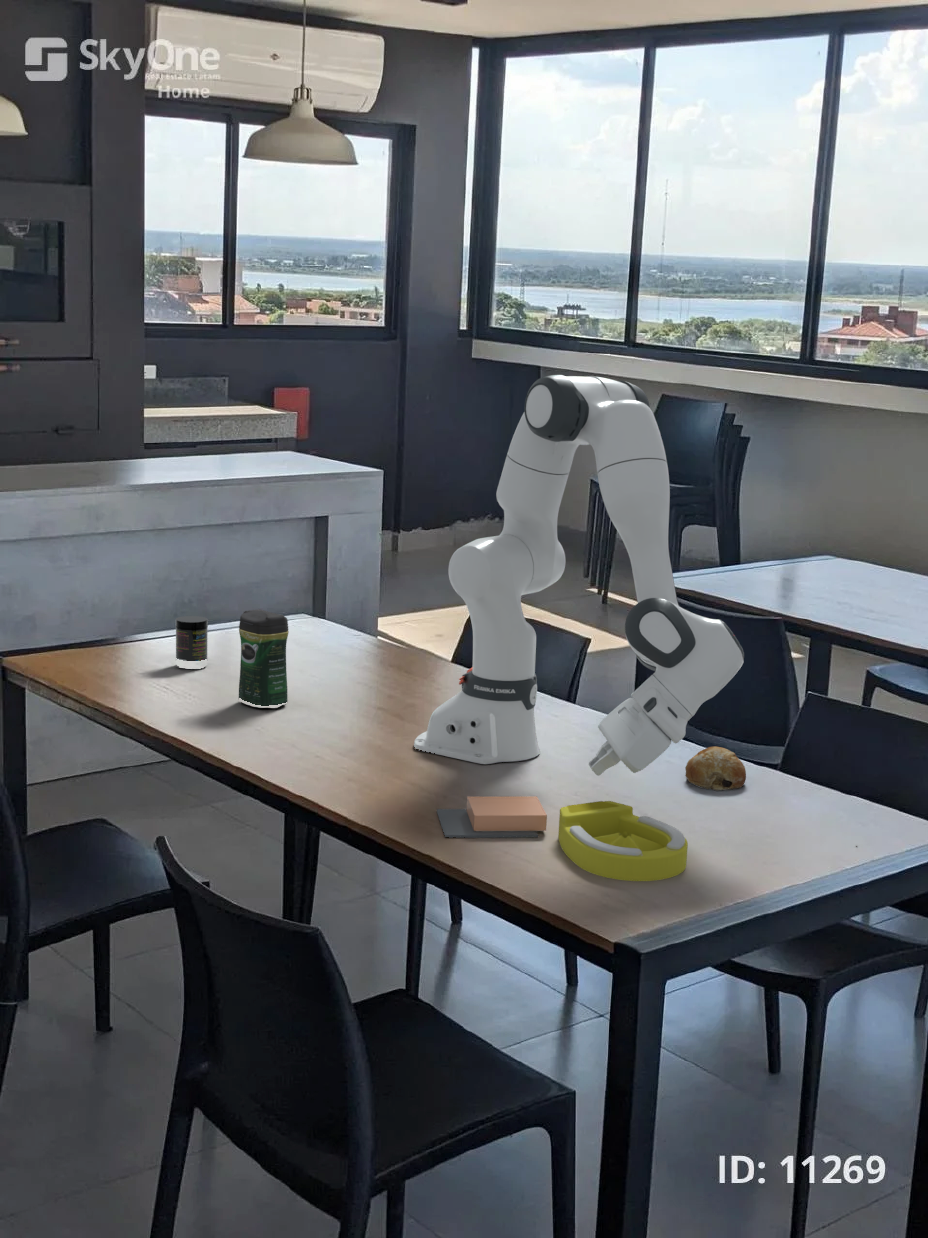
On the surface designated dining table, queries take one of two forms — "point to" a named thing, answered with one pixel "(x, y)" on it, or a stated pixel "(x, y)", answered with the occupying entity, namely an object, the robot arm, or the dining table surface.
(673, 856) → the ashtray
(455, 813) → the rubber mat
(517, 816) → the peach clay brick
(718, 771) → the bread roll
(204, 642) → the supplement container
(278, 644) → the coffee jar
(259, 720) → the dining table surface
